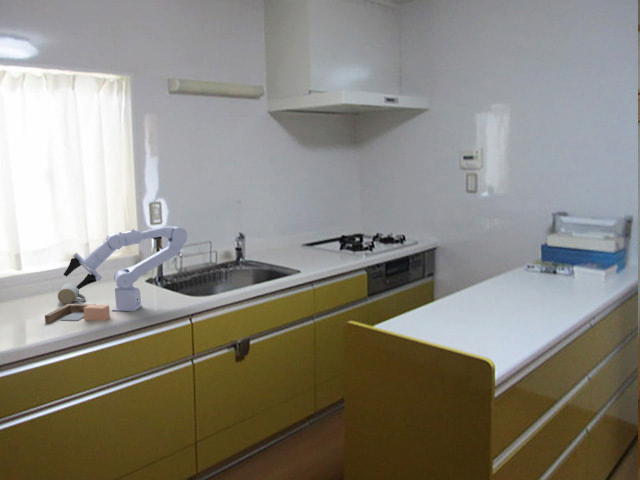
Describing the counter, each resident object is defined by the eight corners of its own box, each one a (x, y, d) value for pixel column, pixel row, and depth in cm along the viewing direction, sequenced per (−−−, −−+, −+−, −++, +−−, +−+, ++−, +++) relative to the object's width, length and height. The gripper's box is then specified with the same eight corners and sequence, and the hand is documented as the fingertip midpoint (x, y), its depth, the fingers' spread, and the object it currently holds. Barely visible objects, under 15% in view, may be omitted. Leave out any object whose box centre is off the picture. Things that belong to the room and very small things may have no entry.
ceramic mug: (57, 305, 233) (56, 287, 232) (60, 300, 241) (59, 283, 240) (84, 304, 236) (83, 286, 235) (87, 299, 244) (86, 282, 243)
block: (109, 317, 217) (108, 305, 216) (104, 321, 212) (103, 308, 211) (90, 317, 218) (89, 304, 217) (84, 320, 213) (83, 308, 212)
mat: (90, 313, 222) (90, 312, 222) (77, 321, 212) (77, 319, 212) (74, 312, 223) (74, 311, 222) (60, 320, 213) (60, 319, 213)
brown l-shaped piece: (96, 311, 224) (95, 304, 224) (75, 323, 208) (74, 316, 208) (68, 310, 225) (67, 303, 225) (45, 323, 210) (44, 315, 209)
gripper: (81, 242, 218) (54, 267, 214) (106, 266, 215) (79, 291, 212) (88, 247, 224) (62, 271, 221) (112, 271, 222) (86, 295, 218)
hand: (71, 281), depth 217 cm, fingers open, 7 cm apart
